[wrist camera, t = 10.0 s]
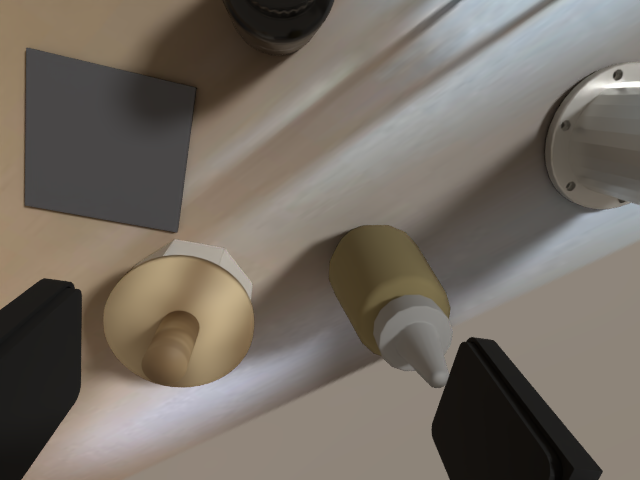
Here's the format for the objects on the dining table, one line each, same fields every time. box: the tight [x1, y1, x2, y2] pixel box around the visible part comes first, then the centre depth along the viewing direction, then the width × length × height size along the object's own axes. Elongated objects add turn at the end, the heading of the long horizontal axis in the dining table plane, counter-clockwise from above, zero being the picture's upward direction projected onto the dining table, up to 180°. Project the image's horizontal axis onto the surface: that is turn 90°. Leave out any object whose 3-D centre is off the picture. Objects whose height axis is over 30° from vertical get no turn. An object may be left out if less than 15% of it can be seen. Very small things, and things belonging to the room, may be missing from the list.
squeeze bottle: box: [329, 225, 453, 388], centre depth 30 cm, size 8×8×18 cm
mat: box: [25, 48, 196, 232], centre depth 33 cm, size 12×12×1 cm
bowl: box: [134, 239, 253, 300], centre depth 36 cm, size 10×10×4 cm
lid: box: [103, 255, 254, 387], centre depth 31 cm, size 12×12×6 cm
